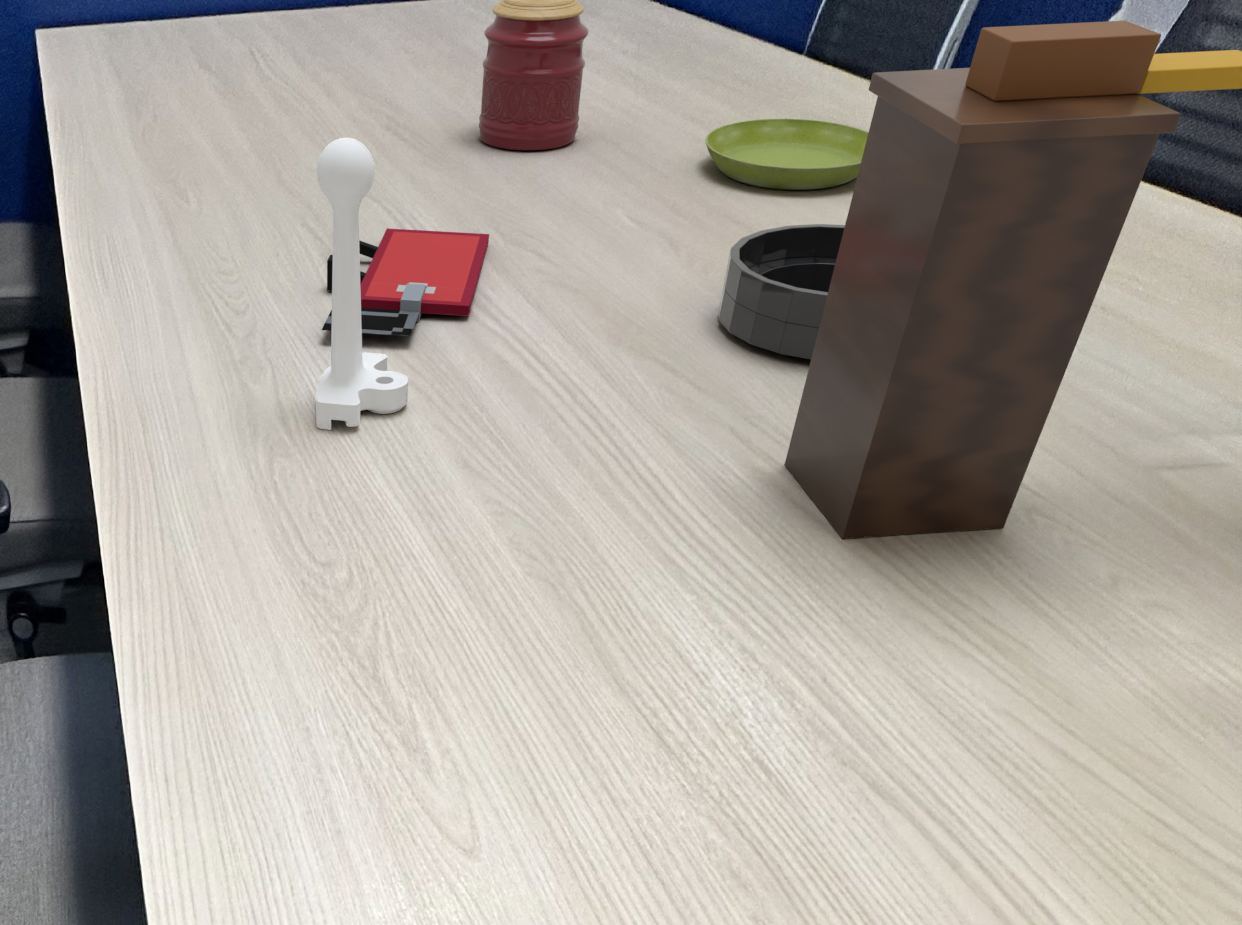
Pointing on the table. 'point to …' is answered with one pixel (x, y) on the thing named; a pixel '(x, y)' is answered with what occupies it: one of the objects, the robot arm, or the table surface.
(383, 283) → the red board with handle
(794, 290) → the bowl
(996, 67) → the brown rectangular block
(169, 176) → the table surface
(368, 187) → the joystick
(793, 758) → the table surface
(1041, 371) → the stand
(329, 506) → the table surface
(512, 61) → the kitchen canister
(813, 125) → the saucer
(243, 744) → the table surface
